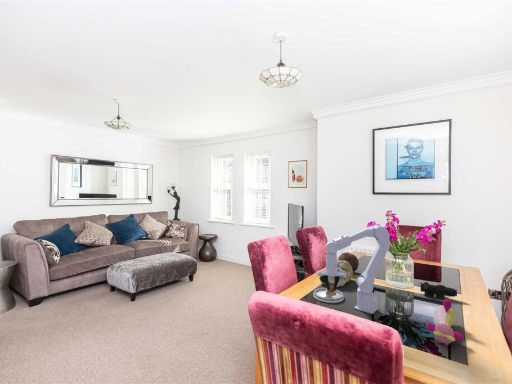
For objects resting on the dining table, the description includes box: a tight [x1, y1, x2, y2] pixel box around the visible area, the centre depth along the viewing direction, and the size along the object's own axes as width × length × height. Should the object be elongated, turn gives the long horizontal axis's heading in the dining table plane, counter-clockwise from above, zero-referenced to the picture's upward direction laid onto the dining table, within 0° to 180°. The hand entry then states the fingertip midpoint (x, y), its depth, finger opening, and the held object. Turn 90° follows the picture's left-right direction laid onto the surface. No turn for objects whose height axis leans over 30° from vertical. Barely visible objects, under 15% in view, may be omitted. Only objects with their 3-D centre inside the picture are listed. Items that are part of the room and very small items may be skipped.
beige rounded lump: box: [319, 260, 354, 288], centre depth 174 cm, size 16×15×26 cm
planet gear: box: [327, 282, 336, 296], centre depth 140 cm, size 5×5×6 cm
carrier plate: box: [312, 287, 344, 304], centre depth 152 cm, size 17×17×4 cm
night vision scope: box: [419, 281, 458, 300], centre depth 152 cm, size 8×18×10 cm
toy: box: [425, 298, 464, 346], centre depth 113 cm, size 12×12×30 cm
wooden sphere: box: [337, 251, 360, 273], centre depth 198 cm, size 15×15×15 cm
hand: (331, 290), depth 140 cm, fingers closed on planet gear, 3 cm apart
